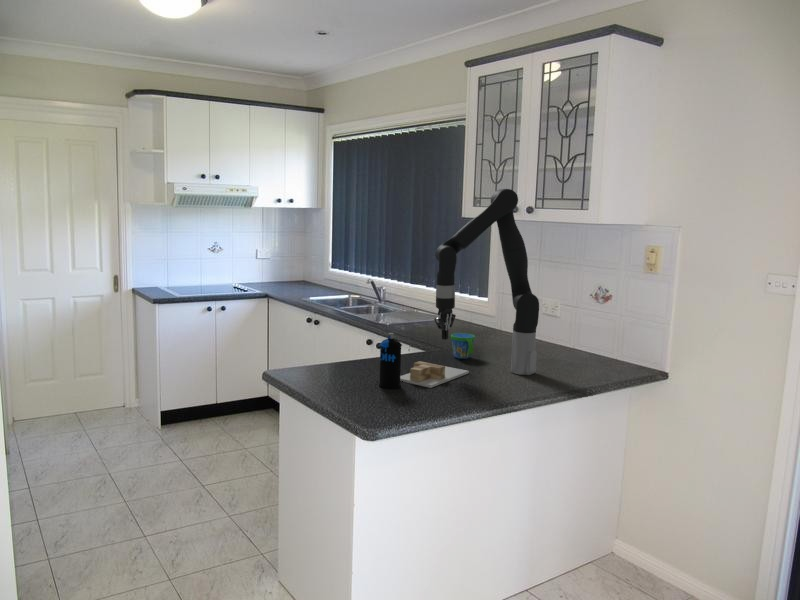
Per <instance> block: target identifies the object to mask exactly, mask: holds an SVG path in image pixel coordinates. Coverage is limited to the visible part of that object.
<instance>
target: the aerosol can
mask: <svg viewBox="0 0 800 600" xmlns="http://www.w3.org/2000/svg"><path fill="white" fill-rule="evenodd" d="M394 336H395V335H394V332H388V336H387V337H388V338H386V339H384V340H381V342H380V343H379V348H380V349H379V351H380V352H379V383H378V386H380V388H381V387H382V388H381V389H385V388H386V390H394V389H398V388H399V389H400V388H401V381H400V376H401V365H402V362H401V361H402V346H403V344H402V343H401V342H400V341H399V340H397V339H395V337H394Z"/></svg>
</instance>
